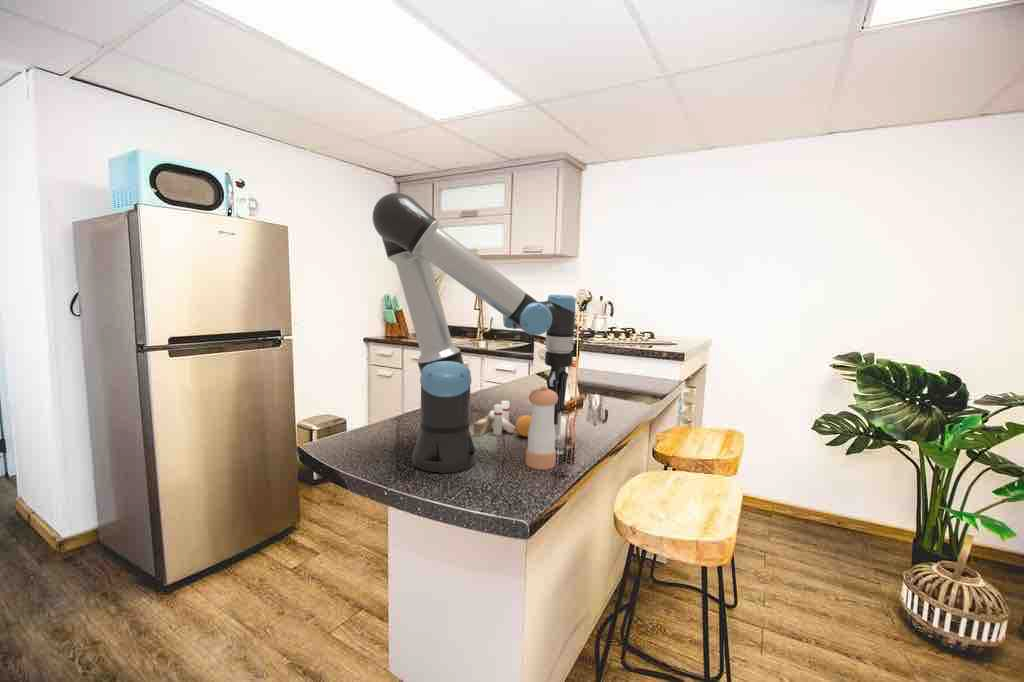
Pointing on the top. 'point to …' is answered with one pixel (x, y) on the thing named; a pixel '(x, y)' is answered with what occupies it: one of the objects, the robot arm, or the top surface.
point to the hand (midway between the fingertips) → (554, 434)
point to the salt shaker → (542, 430)
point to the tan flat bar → (483, 426)
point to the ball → (523, 425)
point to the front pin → (505, 423)
